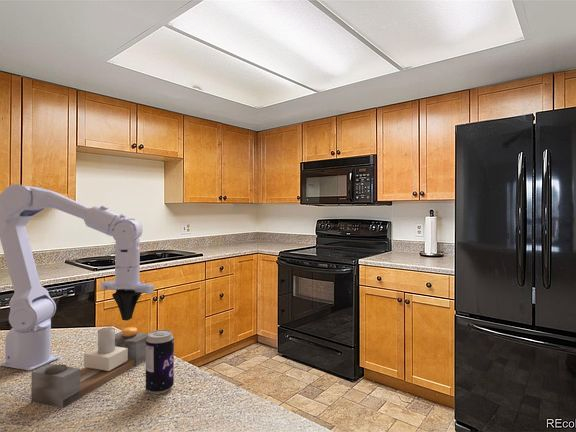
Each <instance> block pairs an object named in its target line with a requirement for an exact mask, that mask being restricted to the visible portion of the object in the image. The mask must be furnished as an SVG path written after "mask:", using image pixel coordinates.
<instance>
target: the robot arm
mask: <svg viewBox="0 0 576 432" xmlns="http://www.w3.org/2000/svg"><path fill="white" fill-rule="evenodd" d="M45 209H54V210H58V211H61V212H63V213H65V214H68V215H71V216H74V217H76V218H78V219H81V220H83V221H84V224H85V226H86V227H88V228H89V229H90V228H91V229H92V230H96V231H98V232H99V233H100V232H101V233H103V234H104V235H107V236H109V237H112V238H113V239H114V240H115V248H114V249H115V250H114V251H115V252H114V254H115V255H114V257H115V260H114V261H115V263H114V264H115V265H114V266H115V268H114V280H110V281H109V280H106V281H101V284H100V285H101V287H100V288H101V290H102V291H105V290H110V291H115V292H114V293H112V298H113V300H114V302H115V303H116V305H117V307H118V310H119V313H120V316H121V320H122V321H125V322H127V321H130V320H131V319H133V315H134V311H135V308H136V305H137V302H138V301H139V299H140V297H141V295H142V293H144V294H146V295H149V294H153V293H155V285H154V284H152V283H151V284H150V283H145V282H141V281H140V267H141V266H140V263H141V261H140V260H141V259H140V258H141V257H140V256H141V255H140V254H141V249H140V237H141V236H142V234H143V225H142V224H141V223H140V222H139V221H138V220H136V219H135V218H126V217H127V216H126V215H125V214H123V213H121V214H118V213H116V212H113V211H112V210H109V207H108V206H106V205H101V206H99V205H95V206H91V207H89V206H87V205H84V204H83V203H80V202H78V201H76V200H74V199H72V198H70V197H67V196H66V195H63V194H61V193H59V192H56V191H54V190H51V189H47V188H46V189H45V188H44V187H42V186H29V185H23V184H17V183H16V184H15V183H14V184H11V185H9V186H7V187H6V188H5V189H3V191H2V192H1V193H0V243H1V247H2V250H3V254H4V259H5V262H6V265H7V269H8V270H7V271H8V274H9V277H10V281H11V285H12V288H13V292H14V293H13V295H12V297H11V298H10V301H9V303H8V305H9V313H8V314H9V315H8V323H9V325H10V326H11V328H10V330H9V331H8V332H7V334H6V336H5V341H4V343H5V345H4V346H5V347H4V350H5V351H4V362H2V363H1V366H2V367H7V368H11V369H18V370H23V371H34V370H36V369H39V368H41V367H43V366H46V365H48V364H50V363H51V362H53V361H55V360H58V359H60V356H59V355H54V354H51V353H52V352H51V350H52V348H51V347H52V344H51V343H52V337H51V336H52V334H51V333H52V318H53V317H54V315H55V313H56V312H57V311H56V310H57V305H56V302H55V300H54V299H52V297H51V296H50V293H49V290H48V289H46V288H45V287H44V286H42V285H41V281H40V277H39V274H38V270H37V266H36V261H35V258H34V255H33V250H32V247H31V246H32V245H31V242H30V239H29V235H28V232H27V227H26V225H27V224H28V223H29V222H30V221H31V219H32V218H33V217H35V216H36V215H38V214H39V213H41V212H42V211H44V210H45Z"/></svg>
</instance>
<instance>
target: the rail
mask: <svg viewBox="0 0 576 432" xmlns="http://www.w3.org/2000/svg"><path fill="white" fill-rule="evenodd" d="M148 334H149V333H145V332H139V331H137V334H136V335H134V336H133V337H131V338H126V337H125V336H122V330H120V331H119V332H117V333H115V346H116V347H123V348H128V361H126V362H124V363H122V364H120V365H119V366H117V367H115V368H113V369H111V370H110V371H106V370H100V369H94V368H88V367H83V368H79V367H72V366H67V365H66V364H61V363H60V364H56V363H47V364H45V365H42V366H40V367H38V368H36V369H33V370H31V374H30V375H31V385H30V386H31V390H30V391H31V392H30V393H31V399H30V401H31V403H36V404H40V405H45V406H50V407H56V408H60V409H64V408H66V407H68V406H69V405H71V404H72V403H75V402H76V401H77V400H80V399H81V398H83V397H84V396H86V395H88V394H90V393H91V392H93V391H95V390H96V389H99V388H100V387H101V386H103V385H104V384H106V383H108V382H110V381H112V380H113V379H115V378H116V377H118V376H120V375H121V374H123V373H125V372H127V371H128V370H130V369H132V368H134V367H137V366H139V365H141V364H142V363H144V362H146V339H147V337H148Z"/></svg>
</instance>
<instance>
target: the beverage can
mask: <svg viewBox="0 0 576 432" xmlns="http://www.w3.org/2000/svg"><path fill="white" fill-rule="evenodd" d="M147 334H148V337H147V339H146V361H145V389H146V390H147V391H149V393H150V394H153V395H160V394H164V393H167V392H168V391H169V390H170V389H171V388H172V387H173V385H174V382H175V381H174V379H175V378H174V377H175V376H174V375H175V374H174V372H175V371H174V370H175V369H174V365H175V358H174V357H175V355H174V354H175V337H174V336H173V331H171V330H169V329H157V330H152V331H150V332H149V333H147Z"/></svg>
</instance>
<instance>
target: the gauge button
mask: <svg viewBox="0 0 576 432" xmlns="http://www.w3.org/2000/svg"><path fill="white" fill-rule="evenodd" d="M121 331H122V336H125V337H126V338H131V337H133V336H134V335H136V334H137V332H138V328H137V327H135V326H131V327H130V326H129V327H125V328H122V329H121Z"/></svg>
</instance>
